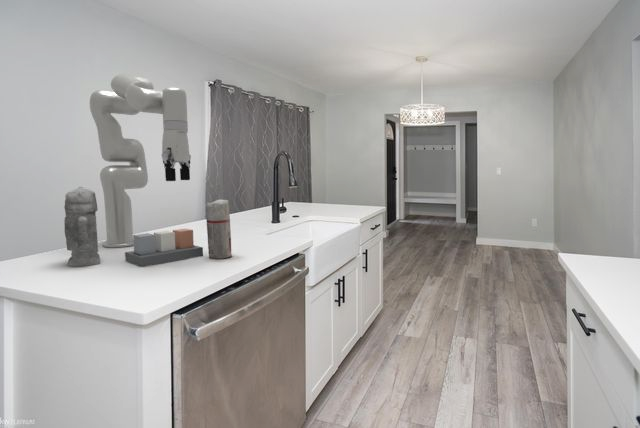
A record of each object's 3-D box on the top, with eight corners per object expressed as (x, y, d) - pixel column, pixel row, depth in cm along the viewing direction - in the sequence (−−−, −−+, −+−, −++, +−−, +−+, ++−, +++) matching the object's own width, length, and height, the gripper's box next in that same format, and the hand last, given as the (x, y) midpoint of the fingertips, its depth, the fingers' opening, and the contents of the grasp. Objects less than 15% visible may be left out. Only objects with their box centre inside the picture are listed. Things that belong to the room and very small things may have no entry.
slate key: (134, 253, 139) (133, 235, 138) (148, 250, 143) (147, 233, 142) (141, 255, 136) (140, 236, 135) (155, 252, 139) (155, 234, 139)
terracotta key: (173, 246, 149) (172, 230, 149) (186, 244, 153) (185, 228, 152) (180, 248, 146) (180, 231, 145) (193, 246, 150) (193, 229, 149)
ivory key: (154, 249, 144) (153, 232, 144) (168, 247, 148) (167, 230, 147) (161, 251, 141) (160, 234, 140) (175, 249, 145) (174, 232, 144)
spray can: (226, 260, 142) (224, 201, 140) (203, 258, 144) (201, 200, 142) (236, 254, 150) (234, 198, 148) (214, 253, 152) (212, 198, 150)
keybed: (125, 261, 141) (124, 252, 140) (185, 250, 157) (184, 243, 157) (142, 266, 133) (141, 257, 132) (203, 255, 149) (202, 247, 149)
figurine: (100, 256, 147) (95, 185, 144) (101, 265, 135) (96, 187, 132) (67, 260, 142) (62, 186, 140) (66, 269, 130) (60, 188, 127)
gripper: (177, 130, 146) (180, 179, 148) (150, 125, 129) (153, 181, 131) (198, 129, 145) (200, 179, 147) (173, 124, 128) (176, 181, 130)
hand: (178, 180), depth 139 cm, fingers open, 9 cm apart
